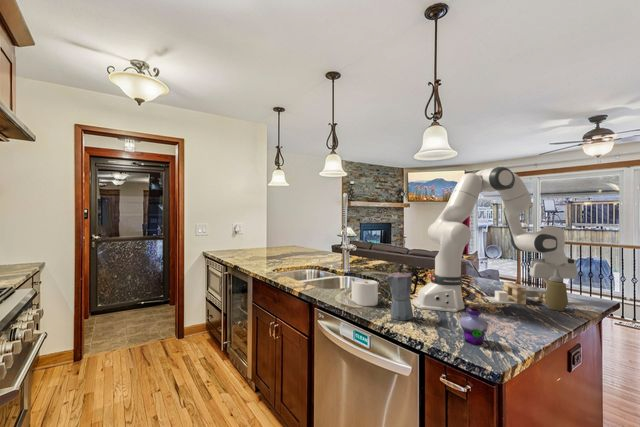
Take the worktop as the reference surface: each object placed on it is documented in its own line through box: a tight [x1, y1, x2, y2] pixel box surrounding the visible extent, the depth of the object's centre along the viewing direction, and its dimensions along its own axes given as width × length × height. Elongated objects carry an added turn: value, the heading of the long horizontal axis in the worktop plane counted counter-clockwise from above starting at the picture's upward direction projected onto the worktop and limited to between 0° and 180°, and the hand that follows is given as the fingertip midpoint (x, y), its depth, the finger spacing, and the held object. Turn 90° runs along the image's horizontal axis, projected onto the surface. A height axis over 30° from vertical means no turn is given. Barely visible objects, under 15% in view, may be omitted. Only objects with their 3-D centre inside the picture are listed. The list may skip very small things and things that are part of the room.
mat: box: [484, 296, 517, 305], centre depth 147 cm, size 10×10×1 cm
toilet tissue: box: [350, 279, 379, 307], centre depth 141 cm, size 11×12×10 cm
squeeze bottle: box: [545, 269, 569, 312], centre depth 134 cm, size 8×8×18 cm
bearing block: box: [503, 281, 527, 306], centre depth 147 cm, size 4×12×8 cm, turn 175°
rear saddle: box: [534, 294, 547, 305], centre depth 146 cm, size 4×8×4 cm, turn 175°
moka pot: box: [385, 267, 420, 321], centre depth 122 cm, size 10×15×20 cm, turn 113°
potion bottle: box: [459, 304, 490, 346], centre depth 98 cm, size 9×9×12 cm
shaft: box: [526, 279, 551, 298], centre depth 146 cm, size 20×4×8 cm, turn 85°
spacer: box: [494, 290, 508, 301], centre depth 147 cm, size 4×4×4 cm
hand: (553, 287), depth 145 cm, fingers open, 3 cm apart
